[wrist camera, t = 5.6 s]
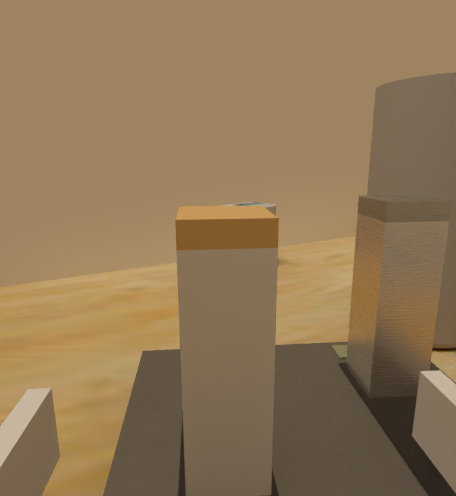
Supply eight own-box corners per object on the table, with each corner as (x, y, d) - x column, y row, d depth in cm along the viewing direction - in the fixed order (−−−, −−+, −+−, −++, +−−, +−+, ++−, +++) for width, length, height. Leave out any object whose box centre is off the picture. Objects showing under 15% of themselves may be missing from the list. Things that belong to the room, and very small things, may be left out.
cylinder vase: (510, 338, 39) (559, 77, 33) (421, 363, 35) (459, 65, 29) (412, 298, 50) (435, 98, 45) (334, 312, 46) (349, 91, 40)
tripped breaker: (186, 501, 18) (175, 219, 14) (187, 439, 21) (179, 206, 18) (271, 495, 18) (278, 218, 15) (257, 434, 22) (261, 205, 19)
